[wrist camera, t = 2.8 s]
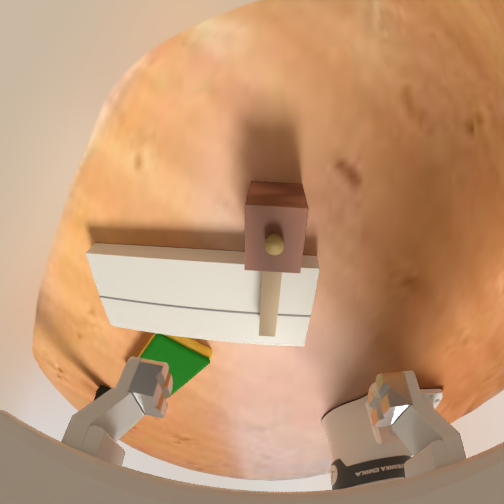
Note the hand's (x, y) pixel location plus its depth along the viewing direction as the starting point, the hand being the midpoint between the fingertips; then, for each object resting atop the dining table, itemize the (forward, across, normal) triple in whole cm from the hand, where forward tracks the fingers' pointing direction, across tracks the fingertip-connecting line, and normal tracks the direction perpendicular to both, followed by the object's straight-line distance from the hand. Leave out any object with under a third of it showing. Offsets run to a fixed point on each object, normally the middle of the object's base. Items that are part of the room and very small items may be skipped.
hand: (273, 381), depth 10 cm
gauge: (+16, 0, +4) cm, 16 cm away
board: (+16, +7, +9) cm, 20 cm away
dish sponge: (+16, +13, +22) cm, 31 cm away
